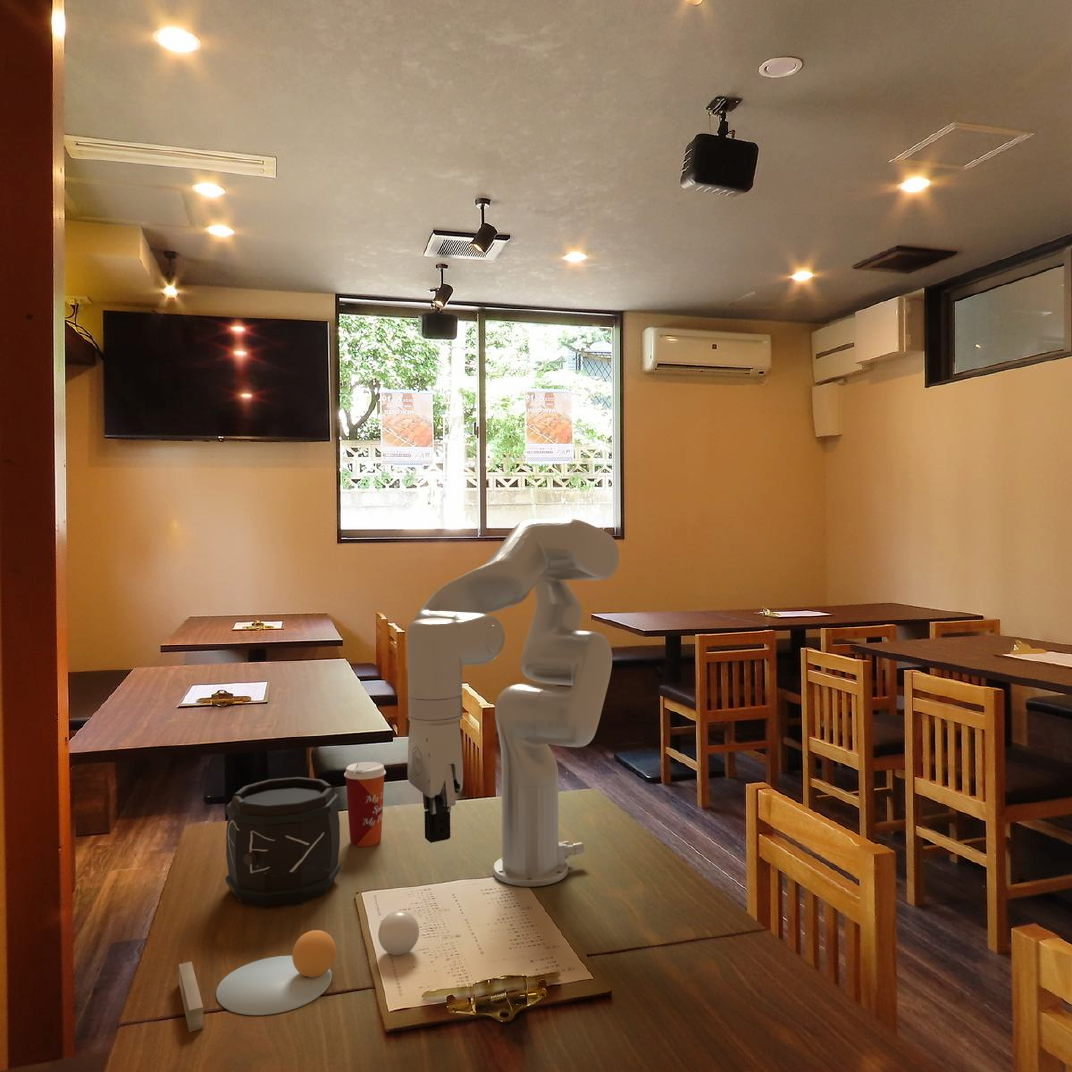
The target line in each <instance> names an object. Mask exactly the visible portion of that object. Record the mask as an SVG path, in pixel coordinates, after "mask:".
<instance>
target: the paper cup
mask: <svg viewBox="0 0 1072 1072" xmlns="http://www.w3.org/2000/svg"><path fill="white" fill-rule="evenodd" d="M386 774H387V771H386V770H385V766H384V764H383V763H381V762H376V761H362V762H361V761H360V762H355V763H352V764H349V765H347V766H346V769H345V772H344V774H343V776H344V777H345V782H346V783H345V784H346V797H347V798H346V800H347V813H348V830H349V840H350V842H349V843H350V844H351V846H353V847H357V848H358V847H359V848H367V847H372V846H376V845H378V844H380V843H381V839H382V829H383V813H384V812H383V809H384V791H385V790H384V787H385V775H386Z"/></svg>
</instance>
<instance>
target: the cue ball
mask: <svg viewBox="0 0 1072 1072" xmlns="http://www.w3.org/2000/svg"><path fill="white" fill-rule="evenodd" d="M377 937H378V942H379V943H380V946H381V948H382V949H383V951H385V952H386V953H388V954H390V955H394V956H402V955H406V954H407V953H409V952H410V951H411V950H413V948H414V947H415V946H416V944H417V942H418V940H419V937H420V928H419V923H418V921H417V919H416V918H415V916H413V915H412V913H410V912H408V911H405V910H394V911H392V912H391V913H388V914H387V915H385V917H384V918H383V919H382V921H381V922H380V925H379V927H378V935H377Z"/></svg>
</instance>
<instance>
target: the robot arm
mask: <svg viewBox="0 0 1072 1072" xmlns="http://www.w3.org/2000/svg"><path fill="white" fill-rule="evenodd" d="M619 563H620V550H619V546H618V545H617V542H616V540H615V538H614V537H613V536H612V535H611V534H610V533H608V532H607V531H605V530H602V529H600V528H598V527H596V526H594V525H592V524H591V523H589V522H585V521H583V520H581V519H580V520H579V519H577V518H576V519H574V518H546V519H545V518H544V519H543V518H538V519H537V518H535V519H527V520H523V521H521V522H519V523H518V524H517V525H515V527H513V529H511V531H510V532H509V534H508V535H507V536H506V538H505V539H504V540H503V541H502V542H501V544H499V546H498V548H497V549H496V550H495V552H493V554H492V555H491V556H490V558H489V559H488V560H487V562H486V563H485V564H483V565H481V566H479V567H476V568H475V569H472V570H471V571H469V572H467V573H465V574H463V575H461V576H459V577H457V578H455V579H453V580H451V581H450V582H448V583H446V584H444V585H443V586H440V587H439V588H438V589H436V591H434V593H432V595H430V597H429V598H428V599H427V600H426V601H425V603H424V604H423V605H422V606H421V608H420V609H419V610H418V612H417V613H416V615H415V616H414V617H413V620H412V622H411V623H410V624H409V625H408V627H407V632H406V634H407V635H406V642H407V644H406V646H407V649H406V650H407V652H406V653H407V654H406V655H407V656H406V657H407V695H408V696H407V701H408V703H407V705H408V707H407V708H408V710H407V711H408V721H409V729H408V742H407V746H408V747H407V779H408V782H409V783H410V784H411V785H412V786H413V787H414V788H416V789H417V790H418V791H419V792H421V793H422V800H423V801H422V802H423V808H424V811H423V812H424V814H423V815H424V838H425V839H426V840H427V841H428V843H431V844H433V843H438V842H441V841H442V842H443V841H446V840H449V839H451V811H452V807H453V806H456V794H460V793H461V791H462V790H463V784H464V783H463V782H464V765H463V764H464V761H463V748H462V747H463V745H462V735H461V734H462V733H461V724H460V721H461V720H462V719H463V718H464V714H463V713H464V712H463V711H464V710H463V708H464V707H463V702H464V701H463V667H464V666H465V667H466V666H481V665H486V664H489V663H491V662H492V661H494V660H495V659H497V658H498V656H499V655H500V654H501V653H502V650H503V648H504V645H505V640H506V639H505V637H506V636H505V630H504V627H503V626H502V623H501V622H500V621H499V620H498V619H497V618H495V617H494V616H492V615H490V613H495V612H498V611H501V610H505V609H508V608H510V607H514V606H516V605H519V604H520V603H522V602H523V601H525V600H526V599H527V597H528V596H529V594H530V593H531V592H532V590H533V589H534V593H535V598H536V601H535V602H536V603H535V609H534V613H533V616H532V619H531V624H530V626H529V630H528V633H527V636H526V639H525V642H524V645H523V650H522V652H521V658H520V669H521V672H522V673H523V675H524V676H525V677H526V678H527V679H529V680H531V681H533V682H535V683H518V684H516V683H515V684H513V685H509V686H508V687H505V688H504V689H502V691H501V692H500V693H499V695H498V696H497V699H496V701H495V707H494V708H495V709H494V716H495V718H494V719H495V723H496V724H495V725H496V729H497V730H496V731H497V733H498V741H499V746H500V757H501V840H502V841H501V852H502V854H501V856H502V857H500V858H499V859H497V860H496V861H495V862H494V863H493V865H492V866H493V867H492V870H493V871H492V872H493V875H494V877H495V878H496V879H497V880H498V881H500V882H502V883H505V884H507V885H511V886H517V887H543V886H547V885H552V884H555V883H557V882H561V880H563V879H565V878H566V877H567V875H568V873H569V865H568V863H567V861H566V860H567V859H569V857H571V856H578V855H583V854H584V853H585V845H584V843H583V842H581V841H580V842H575V843H571V842H570V841H569V840H563V841H560V839H559V838H560V837H559V833H560V831H559V768H558V762H557V760H556V757H555V755H554V753H553V751H552V750H551V747H550V746H551V745H552V746H561V747H567V748H569V747H570V748H582V747H585V746H587V745H588V744H590V743H591V741H593V739H594V738H595V735H596V733H597V729H598V726H599V723H600V719H601V716H602V715H601V714H602V711H603V706H604V702H605V698H606V694H607V691H608V687H609V683H610V678H611V673H612V667H613V653H612V651H613V650H612V646H611V644H610V642H609V640H608V639H607V637H606V636H605V635H604V634H602V633H600V632H598V631H592V630H580V626H581V623H582V620H583V619H582V618H583V608H582V606H581V603H580V601H579V599H578V597H577V596H576V594H575V593H574V591H573V590H572V589H571V587H570V586H569V584H568V583H567V580H568V581H605V580H608V579H610V578H612V576H614V575H615V573H616V572H617V569H618V567H619ZM488 613H489V614H488ZM538 683H541V684H538ZM548 684H549V685H548ZM556 685H557V686H556ZM558 685H563V686H558ZM570 686H571V687H570Z"/></svg>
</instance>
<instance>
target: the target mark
mask: <svg viewBox="0 0 1072 1072" xmlns="http://www.w3.org/2000/svg"><path fill="white" fill-rule="evenodd" d="M332 974H333V973H332V971H331V968H330V969H329V970H328V971H327V972H325V973H324V974H322V975H320V976H318V977H306V976H304V975H302V974H300V973H299V972H298V971H297V970H296V968H295V966H294V964H293V959H292V955H279V956H272V957H266V958H261V959H258V960H254V961H252V962H250V963H249V962H248V963H247V964H245V965H243V966H240V967H239V968H236V969H235V970H233V971H231V972H230V973H228V974H227V975H226V976H225V977H224V978H223V979H222V980H221V981H220V982H219V984H218V986H217V988H216V993H215V997H216V1000H217V1003H219V1005H220V1006H221V1007H222V1008H224V1009H225V1010H227V1011H229V1012H232V1013H236V1014H240V1015H246V1016H267V1015H268V1016H269V1015H274V1014H281V1013H285V1012H289V1011H292V1010H295V1009H298V1008H301V1007H303V1006H305V1005H307V1004H309V1003H311V1002H313V1001H315V1000H316V999H317V998H319V997H320V996H322V994H324V993H325V992H326V991H327V990H328V989H329V986H331V983H332V979H333V977H332Z"/></svg>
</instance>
